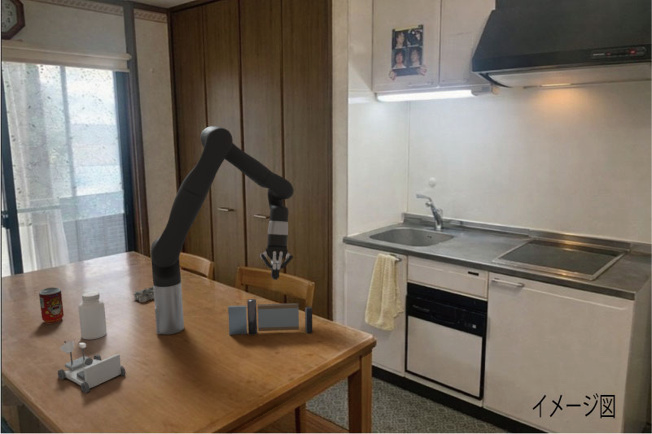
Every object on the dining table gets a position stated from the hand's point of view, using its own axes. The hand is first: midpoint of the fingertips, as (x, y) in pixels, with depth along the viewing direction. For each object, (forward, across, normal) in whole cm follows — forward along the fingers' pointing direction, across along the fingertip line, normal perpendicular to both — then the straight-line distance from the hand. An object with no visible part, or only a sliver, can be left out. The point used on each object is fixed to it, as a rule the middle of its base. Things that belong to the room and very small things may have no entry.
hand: (275, 279), depth 178 cm
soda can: (+20, -77, +25) cm, 84 cm away
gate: (+16, -1, -13) cm, 21 cm away
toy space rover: (+28, -58, -23) cm, 68 cm away
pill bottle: (+22, -61, +6) cm, 65 cm away
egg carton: (+13, -45, +39) cm, 61 cm away
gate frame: (+18, -3, -13) cm, 22 cm away
